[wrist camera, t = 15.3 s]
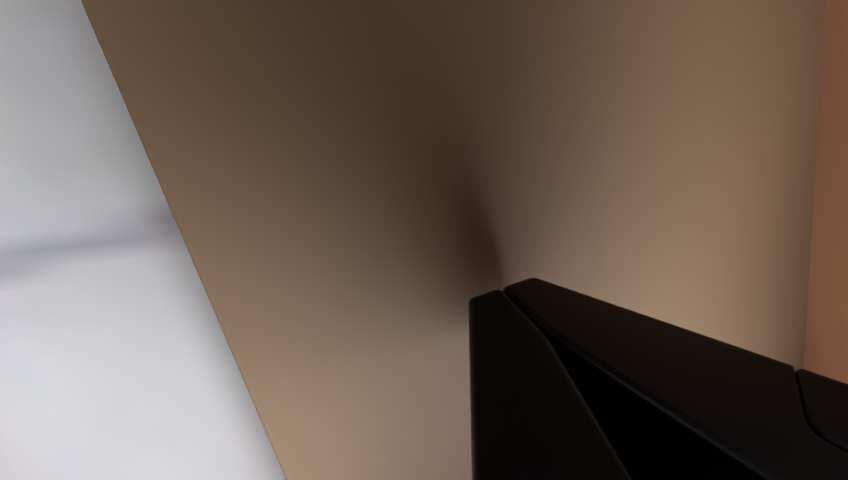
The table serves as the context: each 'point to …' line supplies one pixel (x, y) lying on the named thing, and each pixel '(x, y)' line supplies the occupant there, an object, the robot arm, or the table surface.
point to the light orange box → (830, 208)
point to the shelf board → (467, 187)
